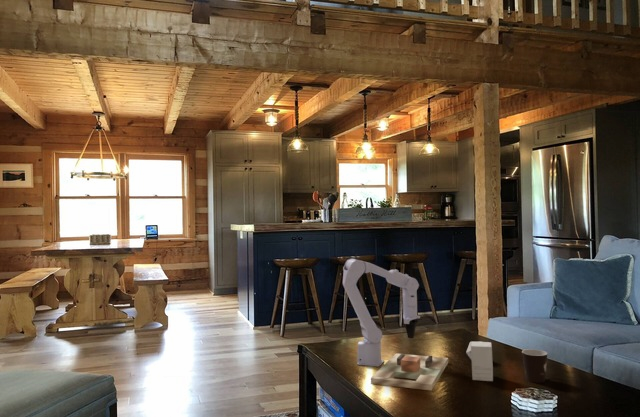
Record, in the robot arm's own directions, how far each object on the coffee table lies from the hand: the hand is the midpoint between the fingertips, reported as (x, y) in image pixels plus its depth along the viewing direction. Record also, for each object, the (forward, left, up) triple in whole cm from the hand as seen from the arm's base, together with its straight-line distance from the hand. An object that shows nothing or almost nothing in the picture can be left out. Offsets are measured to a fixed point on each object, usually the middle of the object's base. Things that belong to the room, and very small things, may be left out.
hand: (410, 337), depth 211 cm
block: (+4, -19, -7) cm, 21 cm away
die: (+26, +8, -10) cm, 29 cm away
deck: (+4, -16, -9) cm, 19 cm away
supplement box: (+30, -14, -10) cm, 34 cm away
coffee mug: (+49, -9, -10) cm, 51 cm away
